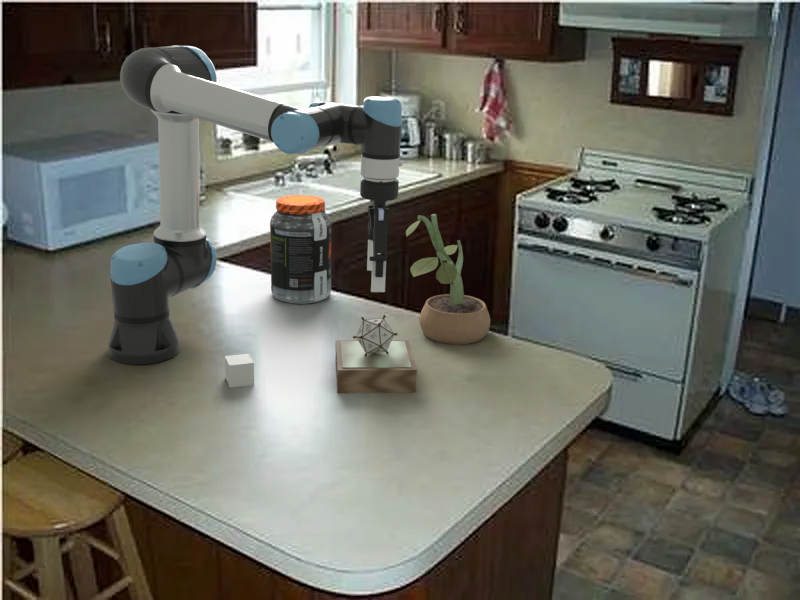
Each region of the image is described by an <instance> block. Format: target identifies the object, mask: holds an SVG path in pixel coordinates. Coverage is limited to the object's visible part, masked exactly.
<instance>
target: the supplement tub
mask: <svg viewBox="0 0 800 600" xmlns="http://www.w3.org/2000/svg"><path fill="white" fill-rule="evenodd" d="M275 204H276V205H275V209H276V211H275V212H274V213H273V214H272V216H271V218H270V222H269V229H270V230H269V235H270V241H269V242H270V282H271V285H270V286H271V287H270V290H271V294H272V296H273V297H274V298H275V299H277V300H279V301H282V302H285V303H290V304H298V305H299V304H300V305H303V304H314V303H317V302H320V301H323V300H325V299H327V298H328V297H329V296H330V295H331V292H332V220H331V218H330V216H329V214H328V213H327V212H326V203H325V199H324V198H322V197H321V196H320V197H319V196H316V195H315V196H314V195H309V194H308V195H305V194H302V195H301V194H295V195H294V194H292V195H285V196H281V197H278V198H277V199H276V201H275Z"/></svg>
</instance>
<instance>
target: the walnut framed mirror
mask: <svg viewBox="0 0 800 600" xmlns="http://www.w3.org/2000/svg"><path fill="white" fill-rule="evenodd" d="M387 352H388V353H389V355H388V354H386V352H379V353H369V354H367V356H366V357H365V356H364V355H365V353H366V352H365V351H364V349H363V348H362V346H361V345H360V343H359V341H358V340H357V339H356V340H354V339H353V340H347V339H346V340H345V339H344V340H343V339H342V340H338V339H337V340H335V374H336V378H335V379H336V390H337V391H336V392H337V394H349V393H350V394H355V393H359V394H364V393H367V394H371V393H373V394H374V393H377V394H378V393H387V394H388V393H416V392H417V377H418V373H417V372H418V370H417V369H418V368H417V366H416V362H415V357H414V354H413V351H412V347H411V343H410V340H409V339H405V340H401V339H400V340H397V339H395V340H393V339H392V341H391V343H390V345H389V347H388V349H387Z"/></svg>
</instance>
